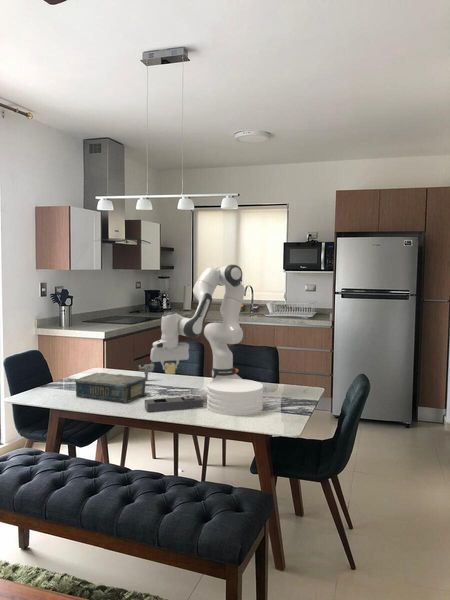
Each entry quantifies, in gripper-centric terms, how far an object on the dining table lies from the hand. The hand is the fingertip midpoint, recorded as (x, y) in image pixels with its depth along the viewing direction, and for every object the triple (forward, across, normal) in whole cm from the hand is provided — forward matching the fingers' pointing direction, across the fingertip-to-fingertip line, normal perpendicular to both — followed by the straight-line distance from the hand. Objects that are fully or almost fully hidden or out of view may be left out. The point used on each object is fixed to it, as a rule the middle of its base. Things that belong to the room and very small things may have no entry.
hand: (170, 369), depth 256 cm
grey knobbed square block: (+16, -6, +15) cm, 23 cm away
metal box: (+17, +29, -17) cm, 38 cm away
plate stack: (+17, -28, +23) cm, 40 cm away
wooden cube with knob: (+2, 0, 0) cm, 2 cm away
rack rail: (+16, +2, +15) cm, 22 cm away
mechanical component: (+17, +4, -47) cm, 50 cm away
